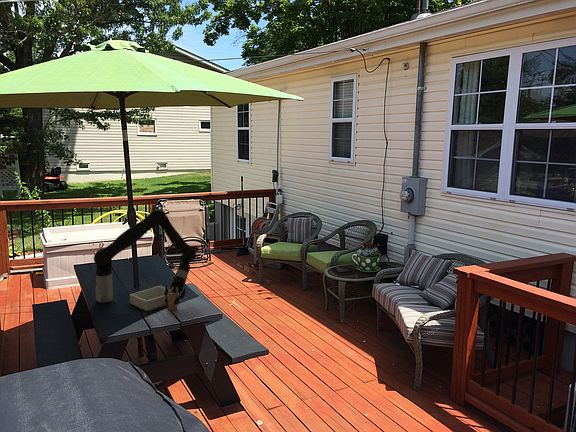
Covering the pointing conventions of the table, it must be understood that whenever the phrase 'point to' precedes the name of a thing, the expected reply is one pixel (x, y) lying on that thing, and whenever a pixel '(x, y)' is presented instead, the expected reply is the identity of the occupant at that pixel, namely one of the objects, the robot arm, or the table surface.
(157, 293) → the bin
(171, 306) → the jar
